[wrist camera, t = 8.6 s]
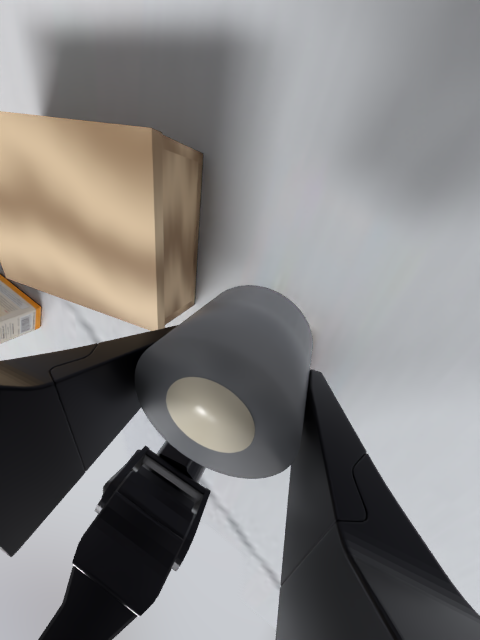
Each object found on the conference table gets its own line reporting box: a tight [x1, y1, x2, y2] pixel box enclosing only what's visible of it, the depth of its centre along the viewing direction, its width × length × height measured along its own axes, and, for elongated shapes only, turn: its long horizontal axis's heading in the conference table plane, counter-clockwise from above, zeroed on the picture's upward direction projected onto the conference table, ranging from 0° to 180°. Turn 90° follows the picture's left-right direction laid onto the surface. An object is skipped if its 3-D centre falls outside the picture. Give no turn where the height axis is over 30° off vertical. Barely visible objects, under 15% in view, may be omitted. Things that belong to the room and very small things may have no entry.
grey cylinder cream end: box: [134, 285, 313, 479], centre depth 8 cm, size 5×5×5 cm
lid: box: [0, 111, 165, 331], centre depth 16 cm, size 12×17×1 cm
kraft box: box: [162, 135, 203, 325], centre depth 18 cm, size 12×16×5 cm
